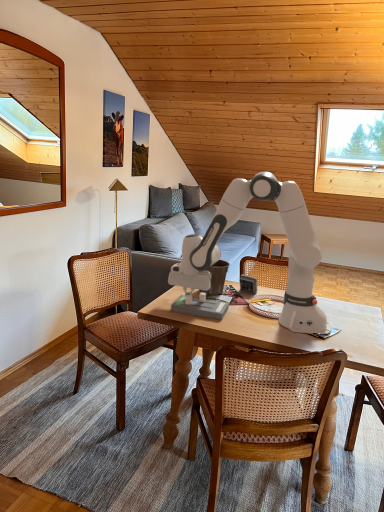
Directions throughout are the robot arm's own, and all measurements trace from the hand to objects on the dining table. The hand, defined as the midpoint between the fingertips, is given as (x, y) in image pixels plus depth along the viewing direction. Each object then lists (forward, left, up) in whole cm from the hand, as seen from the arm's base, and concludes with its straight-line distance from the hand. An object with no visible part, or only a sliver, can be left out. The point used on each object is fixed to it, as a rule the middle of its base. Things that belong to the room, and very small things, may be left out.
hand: (188, 295), depth 187 cm
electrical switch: (-24, -32, -5) cm, 40 cm away
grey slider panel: (-7, +3, -5) cm, 9 cm away
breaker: (-2, +6, -1) cm, 6 cm away
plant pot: (-6, -24, -5) cm, 25 cm away
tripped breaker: (-7, 0, -1) cm, 7 cm away
